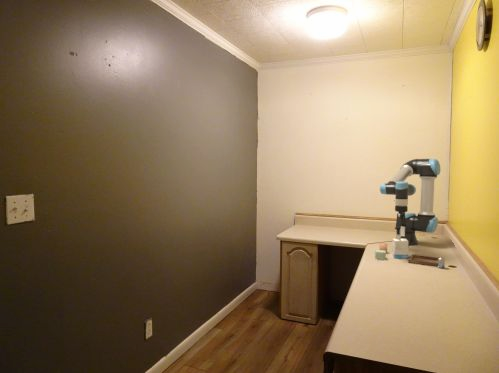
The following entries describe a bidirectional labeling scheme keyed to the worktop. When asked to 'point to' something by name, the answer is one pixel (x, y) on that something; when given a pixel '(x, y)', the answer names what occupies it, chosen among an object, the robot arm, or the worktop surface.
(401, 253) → the ink box
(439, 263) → the grey peg
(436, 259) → the tray
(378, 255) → the sage block
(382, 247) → the terracotta cup
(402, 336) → the worktop surface
